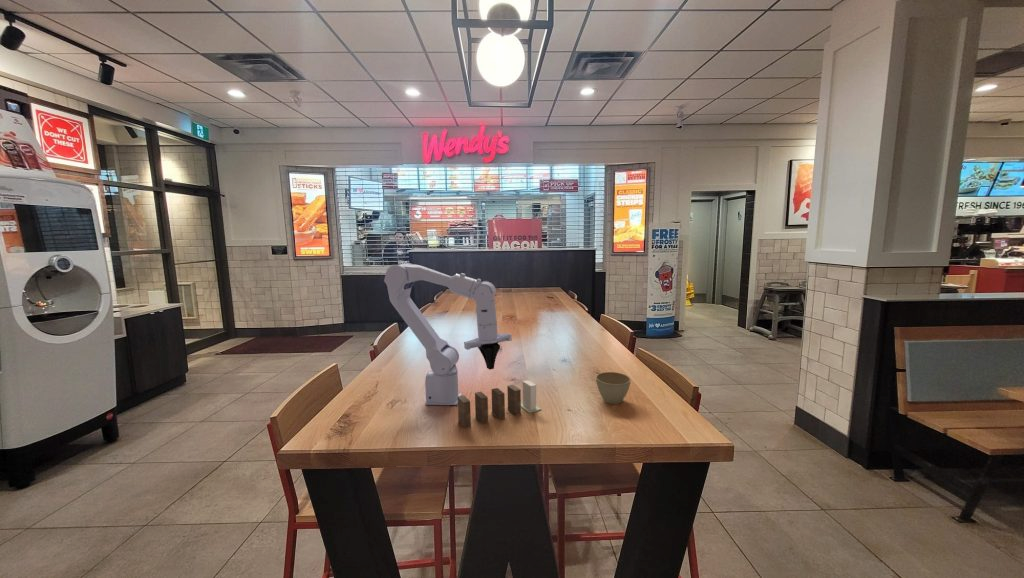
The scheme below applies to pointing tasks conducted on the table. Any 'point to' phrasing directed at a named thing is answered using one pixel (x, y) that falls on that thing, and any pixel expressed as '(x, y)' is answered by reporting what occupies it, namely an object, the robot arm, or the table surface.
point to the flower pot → (613, 386)
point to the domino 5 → (529, 394)
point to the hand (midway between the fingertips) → (490, 368)
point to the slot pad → (529, 409)
